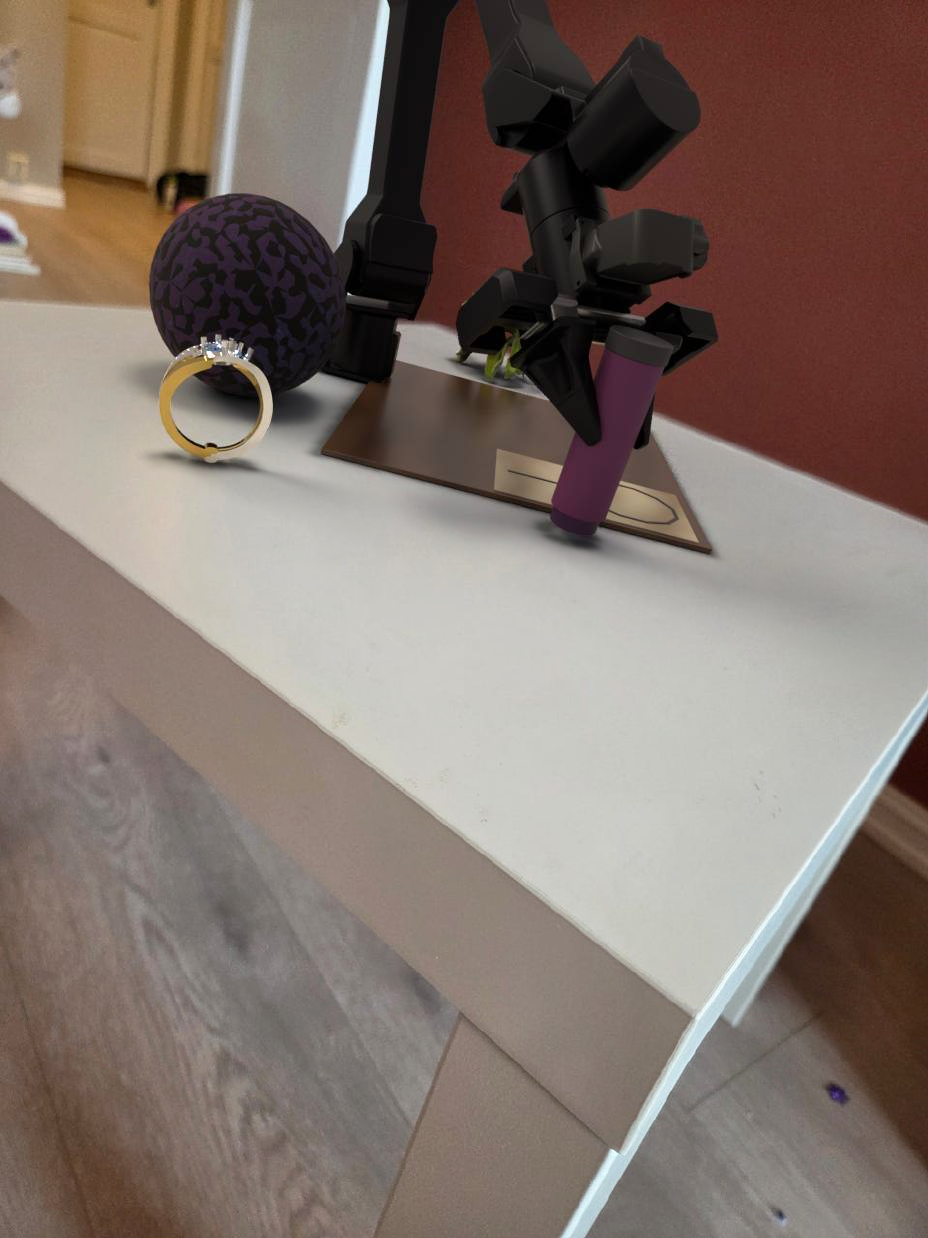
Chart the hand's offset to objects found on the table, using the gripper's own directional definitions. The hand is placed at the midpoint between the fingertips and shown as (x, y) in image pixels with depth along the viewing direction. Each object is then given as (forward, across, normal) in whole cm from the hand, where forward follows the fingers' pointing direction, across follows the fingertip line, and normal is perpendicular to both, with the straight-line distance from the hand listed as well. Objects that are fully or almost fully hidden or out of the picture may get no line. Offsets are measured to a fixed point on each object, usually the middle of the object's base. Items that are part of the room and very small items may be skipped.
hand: (618, 445), depth 58 cm
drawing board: (-10, +9, +21) cm, 25 cm away
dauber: (+3, 0, +6) cm, 7 cm away
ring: (-4, -22, +14) cm, 27 cm away
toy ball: (-15, -15, +26) cm, 33 cm away
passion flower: (-27, +22, +38) cm, 51 cm away
